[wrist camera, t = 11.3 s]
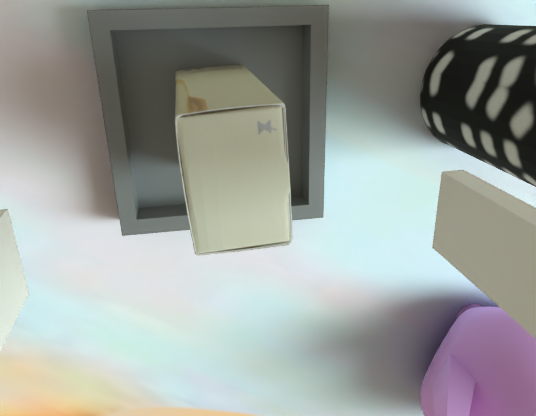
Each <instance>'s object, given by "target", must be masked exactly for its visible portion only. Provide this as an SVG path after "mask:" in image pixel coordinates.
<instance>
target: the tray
mask: <svg viewBox="0 0 536 416" xmlns="http://www.w3.org/2000/svg"><path fill="white" fill-rule="evenodd" d="M328 6H329V5H314V6H268V7H222V8H176V9H130V10H87V13H88V19H89V26H90V32H91V39H92V45H93V52H94V58H95V64H96V71H97V77H98V84H99V90H100V97H101V103H102V109H103V116H104V122H105V129H106V135H107V141H108V148H109V154H110V161H111V167H112V174H113V180H114V186H115V193H116V199H117V206H118V212H119V219H120V225H121V231H122V236H125V235H136V234H147V233H158V232H169V231H180V230H190V225H189V220H188V215H187V209H186V204H185V198H184V192H183V186H182V180H181V173H180V166H179V159H178V151H177V141H176V130H175V106H176V81H175V76H176V71H179V70H186V69H194V68H203V67H215V66H230V65H244V66H245V67H246V68H247V69H248V70H249V71H250V72H251V73H252V74H253V75H254V76H256V77H257V78H258V79H259V80H260V81H261V82H262V83H263V84H264V85H265V86H266V87H267V88H268V89H269V90H270V91H271V92H272V93H273V94H274V95H275V96H277V97H278V98H279V99H280V100H281V101H282V102H283V103H284V104H285V108H286V125H287V141H288V158H289V173H290V191H291V212H292V220H301V219H312V218H323V209H324V168H325V128H326V87H327V46H328Z"/></svg>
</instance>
